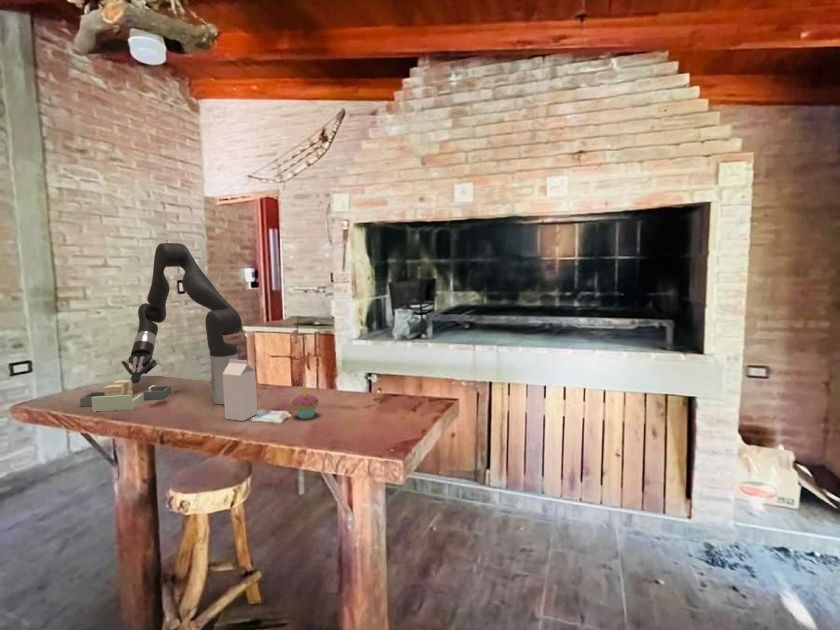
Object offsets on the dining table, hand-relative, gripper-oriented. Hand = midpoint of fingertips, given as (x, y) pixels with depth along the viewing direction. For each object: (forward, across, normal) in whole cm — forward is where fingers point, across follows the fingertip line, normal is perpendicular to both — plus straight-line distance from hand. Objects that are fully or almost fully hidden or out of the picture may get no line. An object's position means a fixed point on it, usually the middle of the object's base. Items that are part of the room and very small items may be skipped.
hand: (134, 382), depth 190 cm
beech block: (+13, 0, -6) cm, 15 cm away
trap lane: (+9, 0, -2) cm, 9 cm away
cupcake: (+32, +66, -25) cm, 77 cm away
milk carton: (+29, +45, -22) cm, 58 cm away
